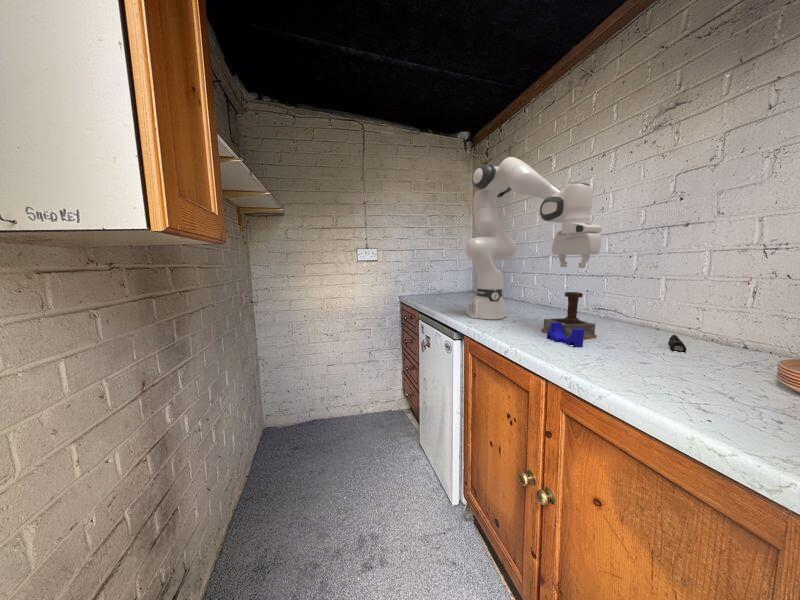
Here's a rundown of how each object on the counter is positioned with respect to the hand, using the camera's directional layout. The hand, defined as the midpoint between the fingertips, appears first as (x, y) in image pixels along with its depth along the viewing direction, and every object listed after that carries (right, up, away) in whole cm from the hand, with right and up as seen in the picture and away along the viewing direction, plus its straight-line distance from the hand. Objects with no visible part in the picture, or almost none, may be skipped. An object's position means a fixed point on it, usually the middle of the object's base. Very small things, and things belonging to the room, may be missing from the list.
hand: (572, 267), depth 112 cm
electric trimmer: (+27, -28, -12) cm, 40 cm away
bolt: (+1, -24, +2) cm, 24 cm away
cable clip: (-7, -27, -7) cm, 29 cm away
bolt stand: (0, -25, +3) cm, 25 cm away
